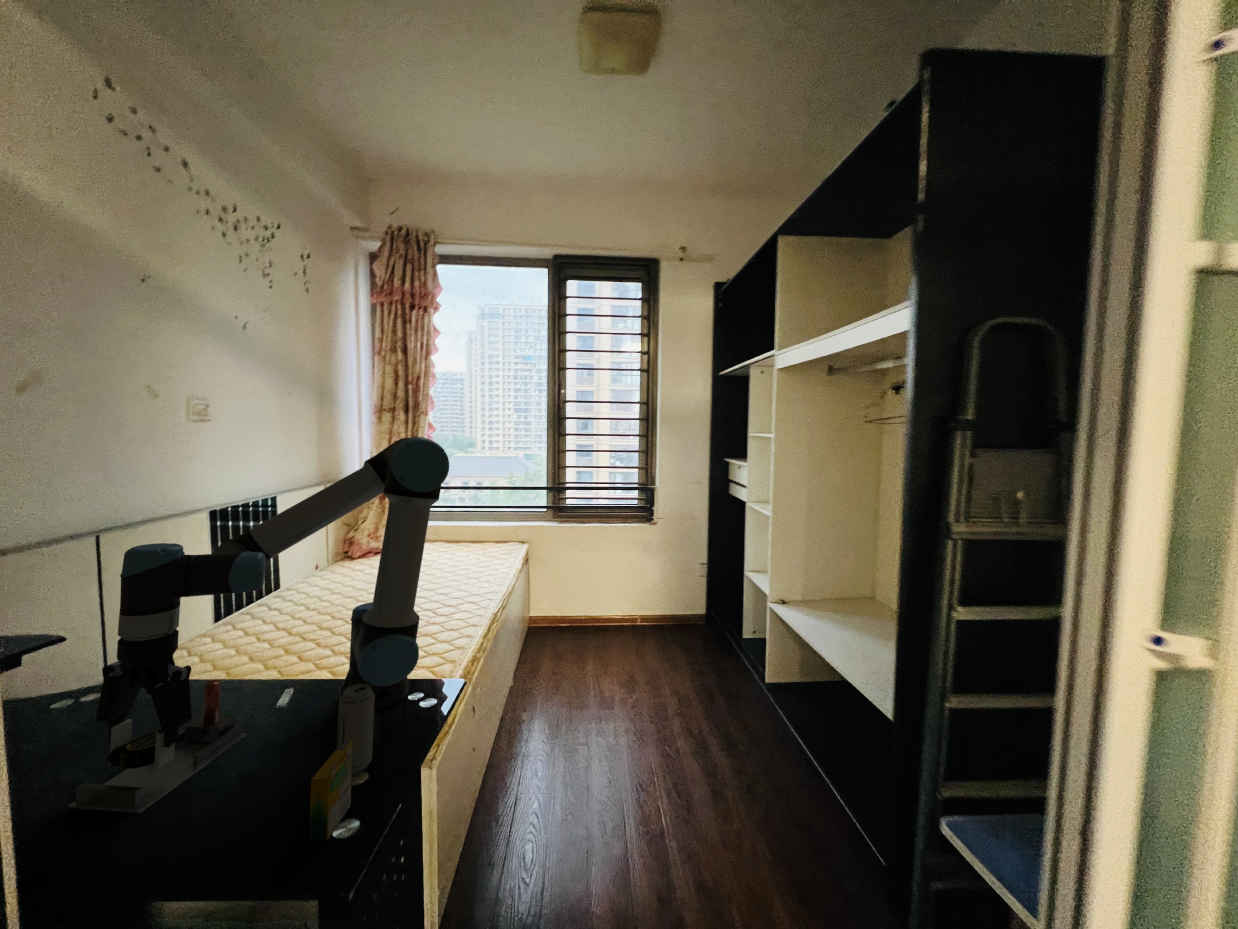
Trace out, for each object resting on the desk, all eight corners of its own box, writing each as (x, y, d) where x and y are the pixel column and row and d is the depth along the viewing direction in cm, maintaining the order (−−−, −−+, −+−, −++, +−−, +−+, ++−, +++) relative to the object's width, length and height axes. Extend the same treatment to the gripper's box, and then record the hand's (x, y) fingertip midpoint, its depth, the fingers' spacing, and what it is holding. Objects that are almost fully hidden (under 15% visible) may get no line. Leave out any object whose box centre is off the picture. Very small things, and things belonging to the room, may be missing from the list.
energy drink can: (330, 767, 88) (333, 690, 87) (363, 752, 92) (366, 679, 92) (343, 782, 84) (347, 701, 84) (377, 766, 89) (380, 689, 88)
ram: (235, 731, 96) (237, 679, 96) (213, 746, 91) (215, 692, 90) (202, 729, 96) (205, 677, 96) (178, 744, 91) (180, 689, 91)
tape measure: (154, 746, 85) (155, 726, 85) (182, 753, 84) (184, 733, 84) (106, 769, 78) (107, 747, 78) (135, 777, 77) (137, 755, 77)
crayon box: (333, 805, 79) (336, 738, 78) (351, 805, 79) (354, 738, 79) (307, 841, 71) (310, 767, 71) (327, 841, 72) (330, 767, 71)
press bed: (247, 735, 96) (247, 719, 96) (139, 813, 75) (140, 792, 75) (191, 731, 96) (191, 715, 96) (68, 808, 75) (69, 787, 75)
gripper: (224, 629, 84) (217, 752, 84) (117, 621, 84) (110, 744, 85) (184, 645, 76) (177, 781, 77) (67, 637, 77) (60, 771, 77)
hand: (142, 761), depth 81 cm, fingers closed on tape measure, 7 cm apart
